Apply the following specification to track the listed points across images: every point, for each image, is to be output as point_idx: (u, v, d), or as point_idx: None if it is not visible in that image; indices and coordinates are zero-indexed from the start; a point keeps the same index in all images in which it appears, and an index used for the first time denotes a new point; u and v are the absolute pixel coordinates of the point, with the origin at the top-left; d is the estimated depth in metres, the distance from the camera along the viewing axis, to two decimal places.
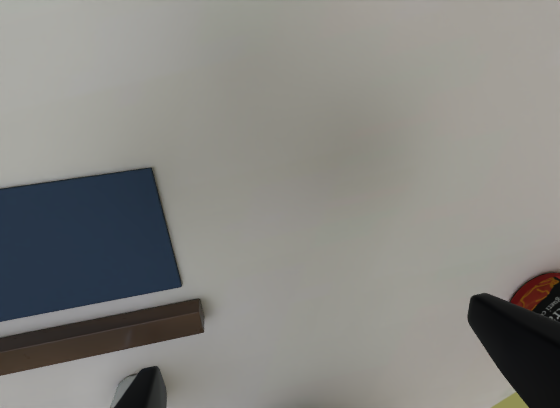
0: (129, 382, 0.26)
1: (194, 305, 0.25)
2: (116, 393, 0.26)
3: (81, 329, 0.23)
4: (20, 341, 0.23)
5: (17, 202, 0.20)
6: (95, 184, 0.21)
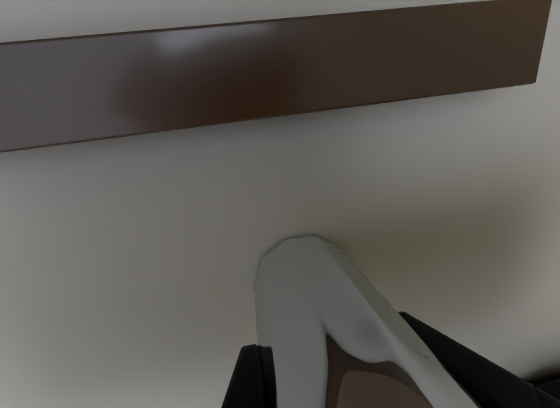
0: (298, 246, 0.10)
1: None
2: (269, 271, 0.10)
3: None
4: None
5: None
6: None
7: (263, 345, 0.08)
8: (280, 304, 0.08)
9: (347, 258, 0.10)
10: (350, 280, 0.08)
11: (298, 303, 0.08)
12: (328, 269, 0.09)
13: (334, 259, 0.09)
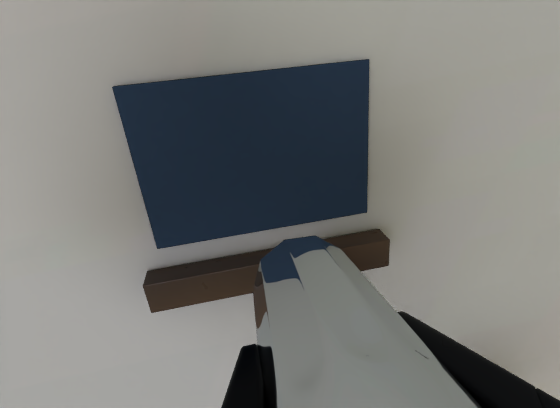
0: (298, 247, 0.10)
1: (379, 234, 0.22)
2: (268, 272, 0.10)
3: (260, 257, 0.21)
4: (195, 269, 0.20)
5: (222, 93, 0.17)
6: (307, 76, 0.18)
7: (263, 346, 0.08)
8: (280, 304, 0.08)
9: (347, 258, 0.10)
10: (350, 281, 0.08)
11: (298, 304, 0.08)
12: (328, 270, 0.09)
13: (334, 260, 0.09)
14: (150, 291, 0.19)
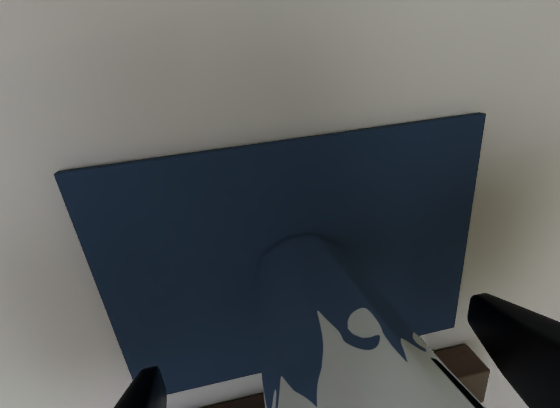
0: (298, 245, 0.10)
1: (470, 357, 0.15)
2: (270, 269, 0.10)
3: None
4: None
5: (245, 176, 0.10)
6: (387, 143, 0.11)
7: (264, 339, 0.09)
8: (280, 300, 0.09)
9: (345, 256, 0.11)
10: (348, 276, 0.09)
11: (298, 298, 0.08)
12: (327, 266, 0.09)
13: (332, 257, 0.10)
14: None
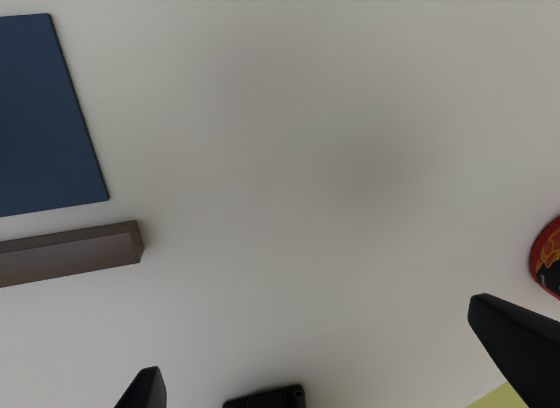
0: None
1: (126, 226, 0.19)
2: None
3: None
4: None
5: None
6: None
7: None
8: None
9: None
10: None
11: None
12: None
13: None
14: None
